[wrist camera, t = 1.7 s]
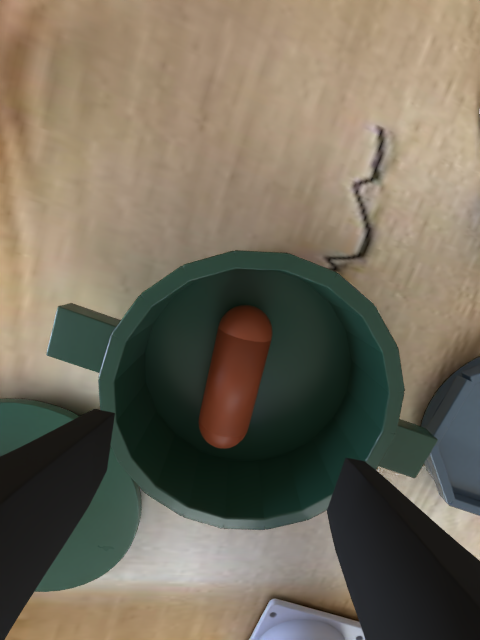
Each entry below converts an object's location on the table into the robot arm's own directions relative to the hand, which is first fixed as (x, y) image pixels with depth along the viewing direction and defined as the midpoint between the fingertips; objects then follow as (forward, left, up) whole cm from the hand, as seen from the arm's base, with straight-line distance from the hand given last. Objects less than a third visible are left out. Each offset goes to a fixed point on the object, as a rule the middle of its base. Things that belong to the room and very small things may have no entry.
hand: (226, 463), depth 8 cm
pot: (0, -1, -8) cm, 8 cm away
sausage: (0, 0, -6) cm, 6 cm away
